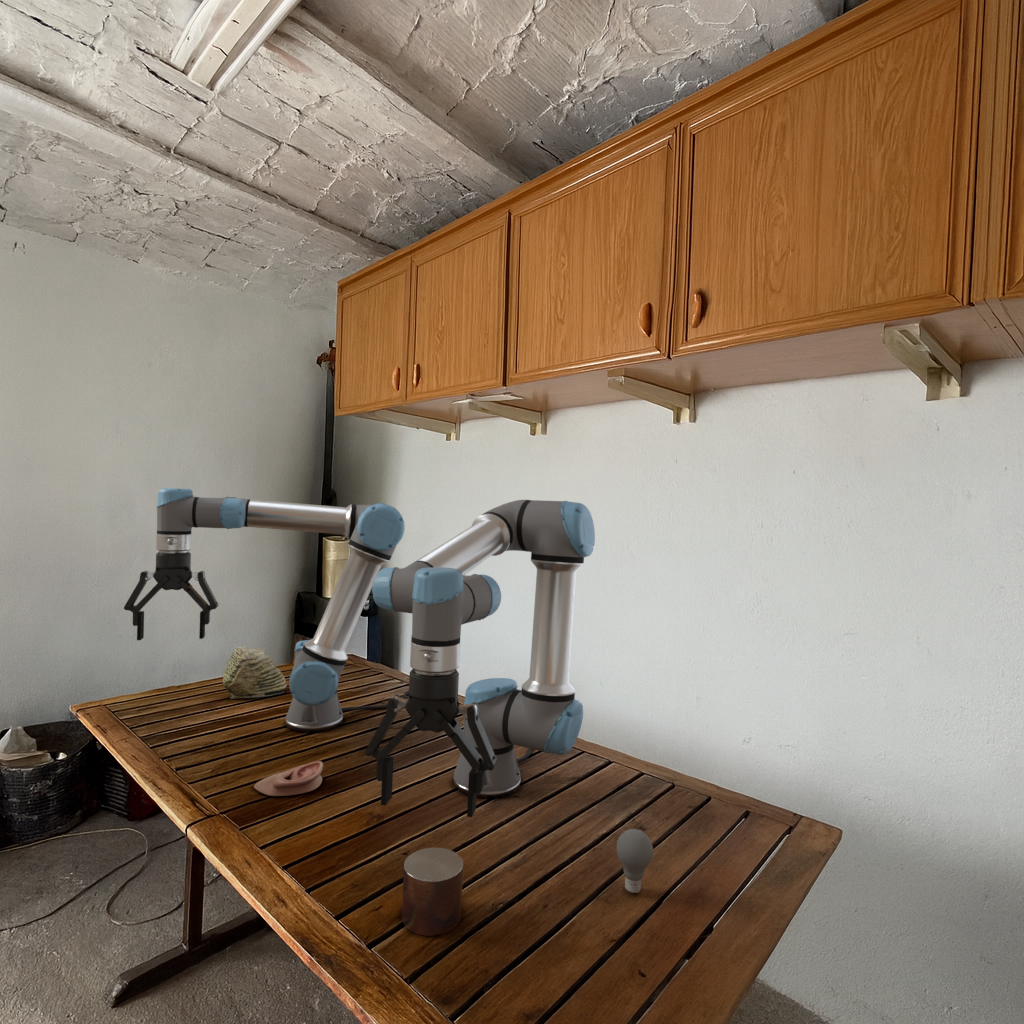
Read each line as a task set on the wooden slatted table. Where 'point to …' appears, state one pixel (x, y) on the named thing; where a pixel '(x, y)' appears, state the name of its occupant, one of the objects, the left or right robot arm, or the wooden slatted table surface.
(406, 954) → the wooden slatted table surface
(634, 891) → the light bulb
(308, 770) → the anatomical model
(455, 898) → the tin
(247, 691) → the fossil
